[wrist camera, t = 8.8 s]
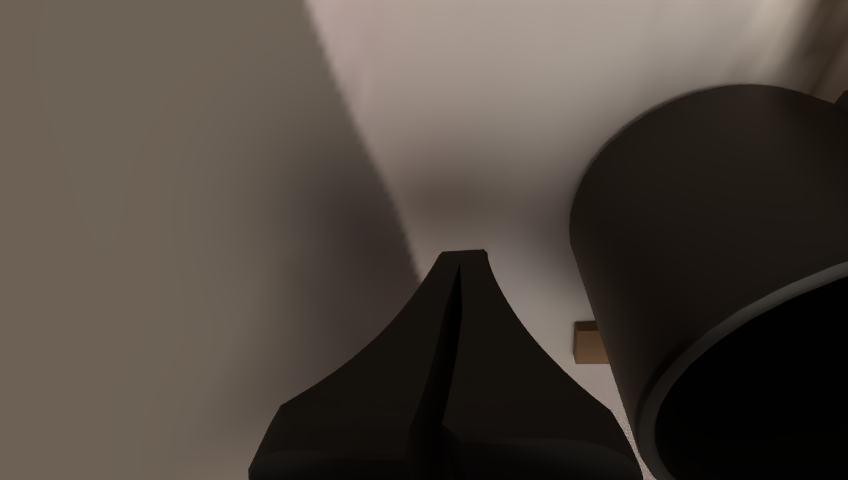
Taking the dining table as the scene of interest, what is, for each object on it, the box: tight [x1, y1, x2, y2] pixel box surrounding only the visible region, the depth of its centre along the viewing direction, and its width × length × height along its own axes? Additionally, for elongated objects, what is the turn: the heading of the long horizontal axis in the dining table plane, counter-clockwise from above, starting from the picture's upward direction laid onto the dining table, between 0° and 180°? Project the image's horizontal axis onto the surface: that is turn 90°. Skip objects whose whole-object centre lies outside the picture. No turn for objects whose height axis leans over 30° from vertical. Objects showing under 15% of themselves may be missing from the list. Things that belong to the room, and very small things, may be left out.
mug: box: [569, 85, 848, 480], centre depth 11 cm, size 9×12×9 cm
